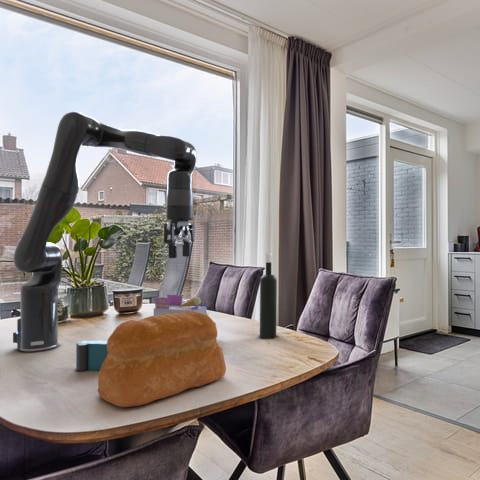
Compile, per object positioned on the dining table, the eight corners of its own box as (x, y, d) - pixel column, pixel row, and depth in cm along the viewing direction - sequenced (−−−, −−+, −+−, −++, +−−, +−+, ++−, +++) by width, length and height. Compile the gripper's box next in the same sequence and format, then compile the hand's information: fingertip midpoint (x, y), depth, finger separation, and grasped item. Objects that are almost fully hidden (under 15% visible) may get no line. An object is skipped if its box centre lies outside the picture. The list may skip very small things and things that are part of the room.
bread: (232, 378, 103) (232, 310, 103) (124, 415, 82) (124, 329, 82) (196, 366, 113) (196, 304, 112) (90, 396, 91) (90, 319, 91)
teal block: (72, 371, 108) (72, 344, 108) (89, 363, 114) (89, 338, 114) (116, 372, 107) (116, 345, 107) (131, 364, 113) (131, 339, 113)
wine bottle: (277, 334, 149) (278, 252, 148) (274, 338, 143) (275, 253, 143) (261, 334, 149) (262, 252, 148) (258, 338, 143) (258, 253, 142)
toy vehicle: (202, 345, 134) (203, 299, 133) (150, 341, 138) (150, 297, 137) (218, 338, 143) (218, 295, 142) (168, 334, 147) (168, 293, 146)
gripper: (179, 206, 133) (179, 255, 133) (155, 202, 118) (155, 258, 119) (202, 206, 132) (201, 256, 133) (180, 203, 118) (180, 258, 118)
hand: (179, 257), depth 126 cm, fingers open, 8 cm apart
